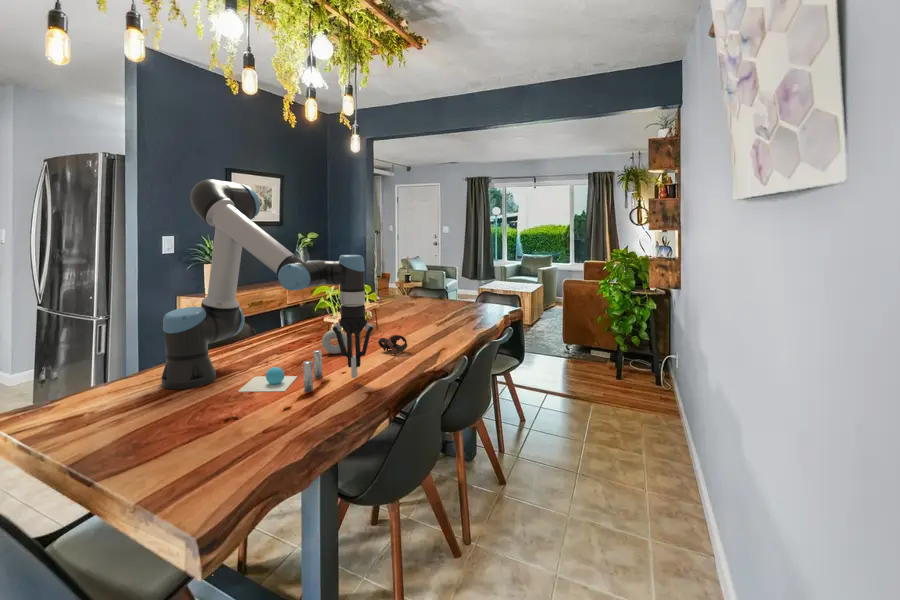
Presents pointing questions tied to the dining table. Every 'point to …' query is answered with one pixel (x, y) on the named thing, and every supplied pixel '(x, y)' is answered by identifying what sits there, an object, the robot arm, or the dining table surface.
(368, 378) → the dining table surface
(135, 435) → the dining table surface
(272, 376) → the ball
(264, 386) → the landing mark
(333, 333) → the donut
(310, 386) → the post
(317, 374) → the post
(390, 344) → the dark brown looped sculpture
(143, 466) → the dining table surface
